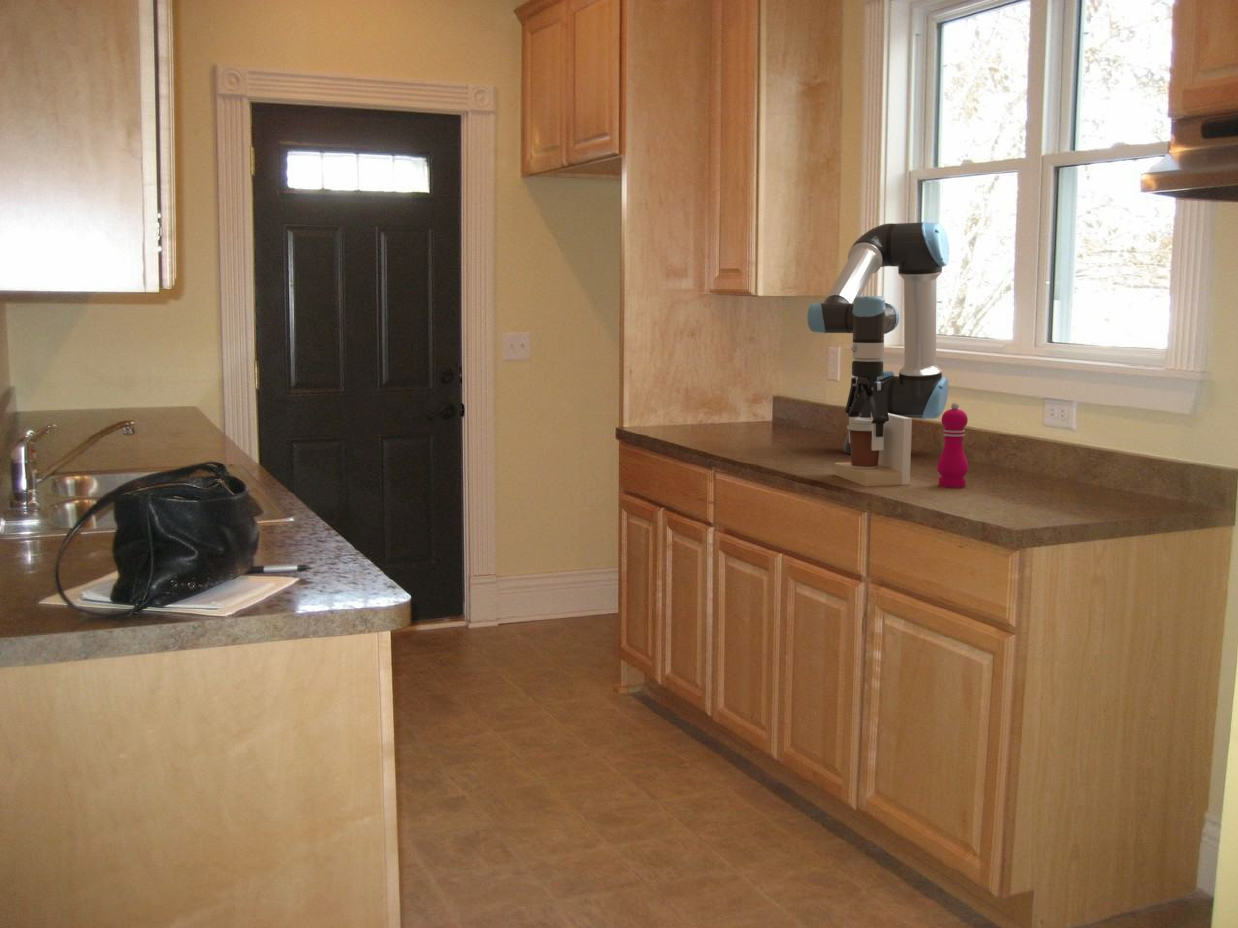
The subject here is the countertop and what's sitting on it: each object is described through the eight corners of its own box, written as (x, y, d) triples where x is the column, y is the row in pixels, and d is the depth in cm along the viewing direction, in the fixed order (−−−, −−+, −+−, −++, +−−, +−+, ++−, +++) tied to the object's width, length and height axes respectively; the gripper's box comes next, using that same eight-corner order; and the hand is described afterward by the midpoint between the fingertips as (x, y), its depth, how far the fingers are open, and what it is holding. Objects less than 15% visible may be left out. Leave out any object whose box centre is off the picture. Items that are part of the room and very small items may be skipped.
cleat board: (876, 473, 315) (878, 410, 312) (909, 484, 296) (911, 418, 294) (834, 474, 312) (835, 411, 310) (865, 486, 294) (867, 419, 292)
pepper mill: (951, 489, 290) (954, 404, 287) (930, 484, 296) (932, 401, 293) (974, 486, 293) (977, 403, 290) (953, 482, 299) (956, 400, 296)
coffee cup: (842, 469, 301) (843, 420, 299) (849, 464, 309) (850, 416, 308) (880, 471, 298) (881, 421, 296) (886, 466, 306) (887, 418, 304)
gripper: (833, 357, 311) (831, 440, 314) (874, 363, 287) (872, 453, 290) (861, 356, 313) (859, 439, 316) (904, 363, 288) (902, 452, 292)
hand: (865, 446), depth 303 cm, fingers open, 13 cm apart
